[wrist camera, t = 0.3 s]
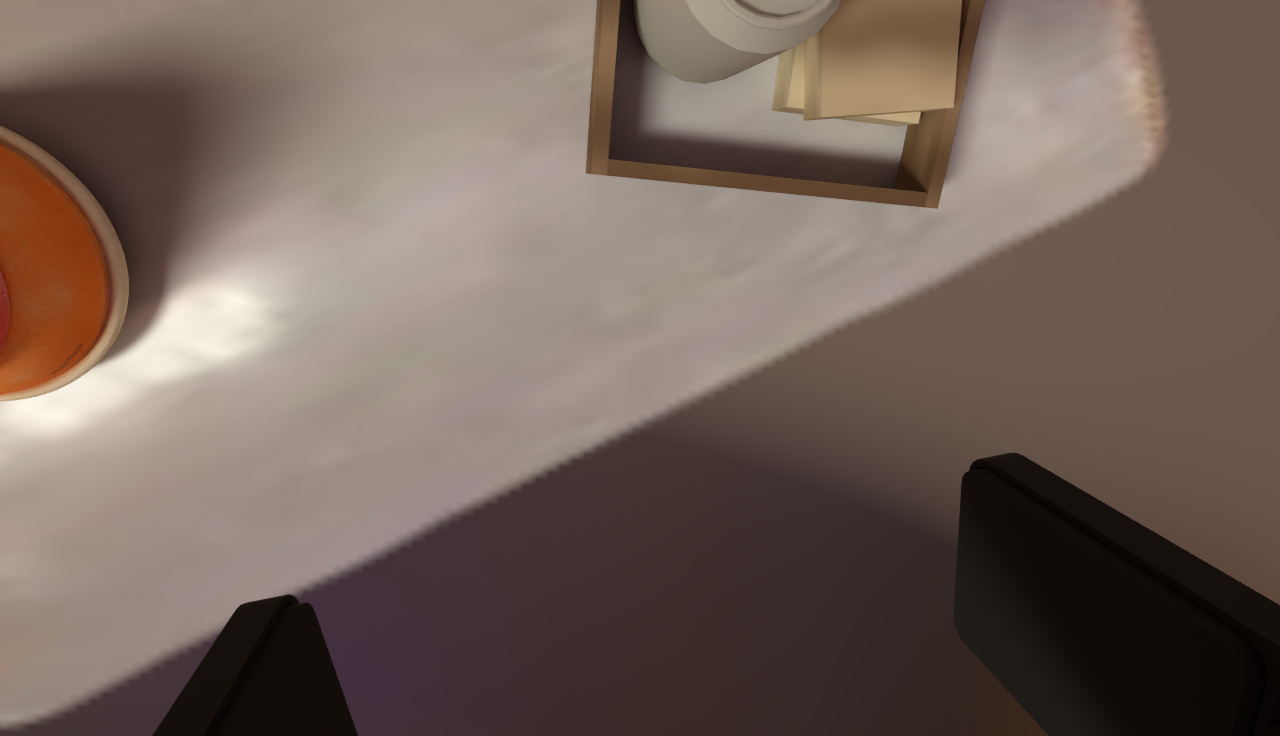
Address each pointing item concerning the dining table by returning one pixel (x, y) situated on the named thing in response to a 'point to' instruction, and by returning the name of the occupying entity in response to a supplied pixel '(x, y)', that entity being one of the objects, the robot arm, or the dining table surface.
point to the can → (724, 33)
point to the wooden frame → (913, 185)
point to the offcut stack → (874, 63)
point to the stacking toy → (53, 273)
